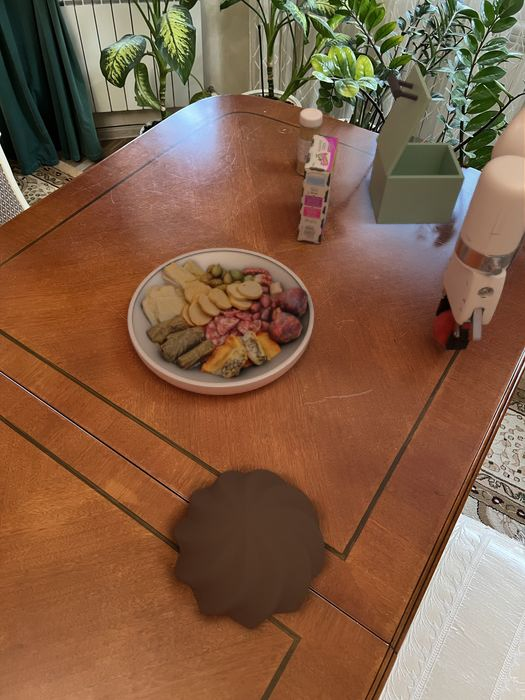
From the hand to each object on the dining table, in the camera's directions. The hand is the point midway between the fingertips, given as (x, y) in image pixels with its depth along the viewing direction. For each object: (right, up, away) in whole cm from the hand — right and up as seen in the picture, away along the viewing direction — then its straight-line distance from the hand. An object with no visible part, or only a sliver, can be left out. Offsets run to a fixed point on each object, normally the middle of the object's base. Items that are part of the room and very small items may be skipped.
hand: (450, 331), depth 91 cm
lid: (-4, +38, +12) cm, 40 cm away
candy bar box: (-20, +22, +23) cm, 37 cm away
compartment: (0, +27, +27) cm, 38 cm away
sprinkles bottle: (-20, +36, +34) cm, 53 cm away
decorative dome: (-32, -29, -17) cm, 46 cm away
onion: (0, -2, +3) cm, 3 cm away
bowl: (-37, 0, +6) cm, 37 cm away
